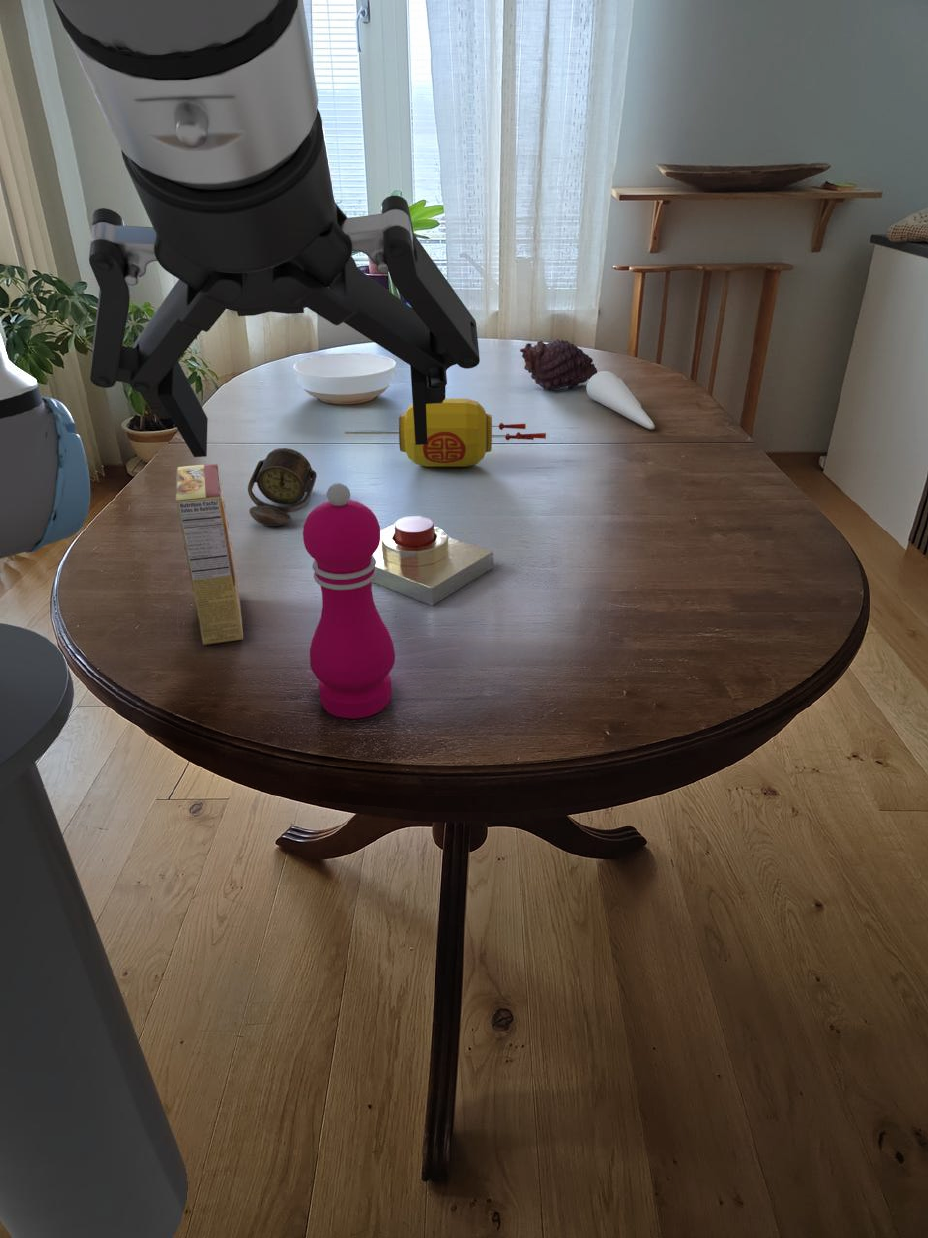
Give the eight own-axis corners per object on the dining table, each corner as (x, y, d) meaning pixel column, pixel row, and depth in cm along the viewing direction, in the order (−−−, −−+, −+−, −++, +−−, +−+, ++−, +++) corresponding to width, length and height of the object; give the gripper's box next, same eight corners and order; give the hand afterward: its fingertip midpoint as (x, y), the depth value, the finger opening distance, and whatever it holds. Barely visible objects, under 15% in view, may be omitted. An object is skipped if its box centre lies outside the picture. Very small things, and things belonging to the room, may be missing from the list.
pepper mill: (300, 715, 67) (271, 496, 57) (334, 668, 73) (313, 463, 63) (380, 729, 66) (364, 507, 55) (408, 681, 72) (399, 471, 61)
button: (387, 541, 89) (386, 525, 87) (412, 529, 91) (412, 512, 90) (416, 552, 86) (416, 535, 85) (442, 538, 89) (441, 522, 88)
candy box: (200, 603, 84) (173, 466, 76) (241, 598, 85) (218, 461, 77) (202, 647, 77) (172, 500, 69) (247, 640, 78) (222, 494, 70)
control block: (338, 569, 91) (335, 537, 89) (402, 536, 98) (400, 506, 96) (432, 606, 83) (431, 572, 81) (492, 568, 91) (493, 536, 89)
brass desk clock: (340, 460, 106) (279, 434, 109) (284, 483, 96) (217, 454, 98) (332, 508, 110) (273, 482, 112) (277, 535, 99) (213, 506, 102)
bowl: (371, 378, 164) (369, 348, 161) (415, 401, 150) (414, 368, 147) (282, 391, 156) (278, 360, 153) (319, 416, 141) (316, 382, 138)
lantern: (545, 386, 118) (345, 386, 118) (550, 420, 111) (337, 420, 111) (540, 444, 125) (351, 444, 125) (545, 480, 118) (344, 479, 118)
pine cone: (579, 375, 167) (603, 338, 159) (590, 409, 162) (616, 373, 154) (505, 358, 159) (527, 319, 151) (515, 394, 154) (538, 355, 147)
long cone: (618, 442, 134) (583, 399, 149) (652, 443, 136) (614, 401, 151) (626, 410, 131) (589, 370, 146) (661, 412, 132) (621, 371, 147)
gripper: (-150, 215, 27) (103, 497, 47) (566, 185, 28) (515, 473, 48) (-117, 57, 29) (111, 390, 50) (544, 36, 31) (504, 370, 51)
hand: (311, 431), depth 49 cm, fingers open, 13 cm apart
